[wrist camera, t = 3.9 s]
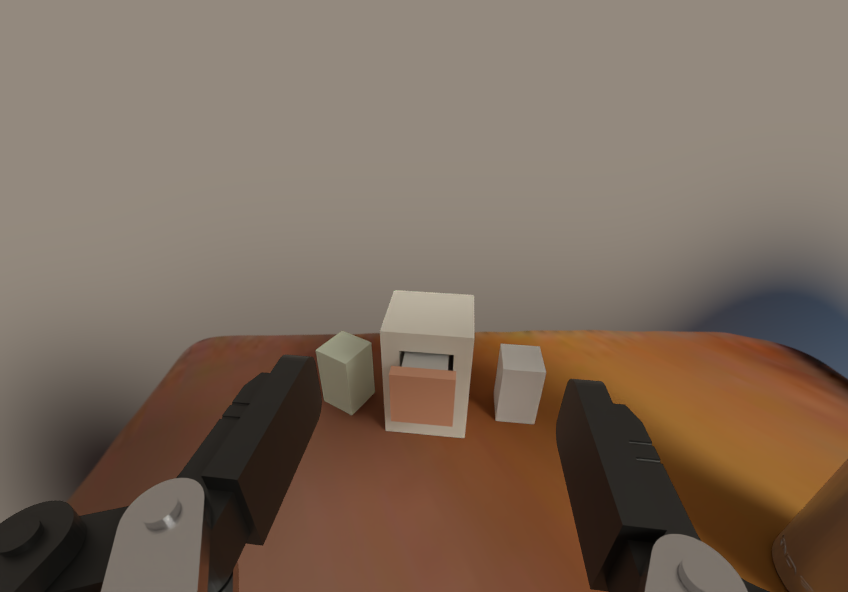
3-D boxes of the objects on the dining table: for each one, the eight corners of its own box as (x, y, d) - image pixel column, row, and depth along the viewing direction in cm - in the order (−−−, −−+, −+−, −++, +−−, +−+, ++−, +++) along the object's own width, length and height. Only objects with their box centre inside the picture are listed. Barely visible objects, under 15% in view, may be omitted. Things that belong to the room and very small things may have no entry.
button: (405, 359, 45) (404, 317, 42) (455, 364, 44) (458, 321, 41) (391, 420, 37) (388, 374, 34) (452, 426, 36) (455, 380, 33)
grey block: (529, 396, 48) (539, 346, 44) (534, 424, 44) (546, 372, 40) (493, 393, 49) (500, 343, 45) (495, 420, 45) (503, 369, 41)
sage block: (375, 392, 49) (371, 342, 44) (351, 415, 45) (345, 364, 41) (348, 379, 50) (342, 330, 46) (324, 400, 47) (315, 350, 43)
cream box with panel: (397, 381, 50) (394, 290, 43) (465, 387, 49) (473, 295, 42) (385, 430, 43) (379, 331, 36) (464, 438, 42) (474, 338, 35)
